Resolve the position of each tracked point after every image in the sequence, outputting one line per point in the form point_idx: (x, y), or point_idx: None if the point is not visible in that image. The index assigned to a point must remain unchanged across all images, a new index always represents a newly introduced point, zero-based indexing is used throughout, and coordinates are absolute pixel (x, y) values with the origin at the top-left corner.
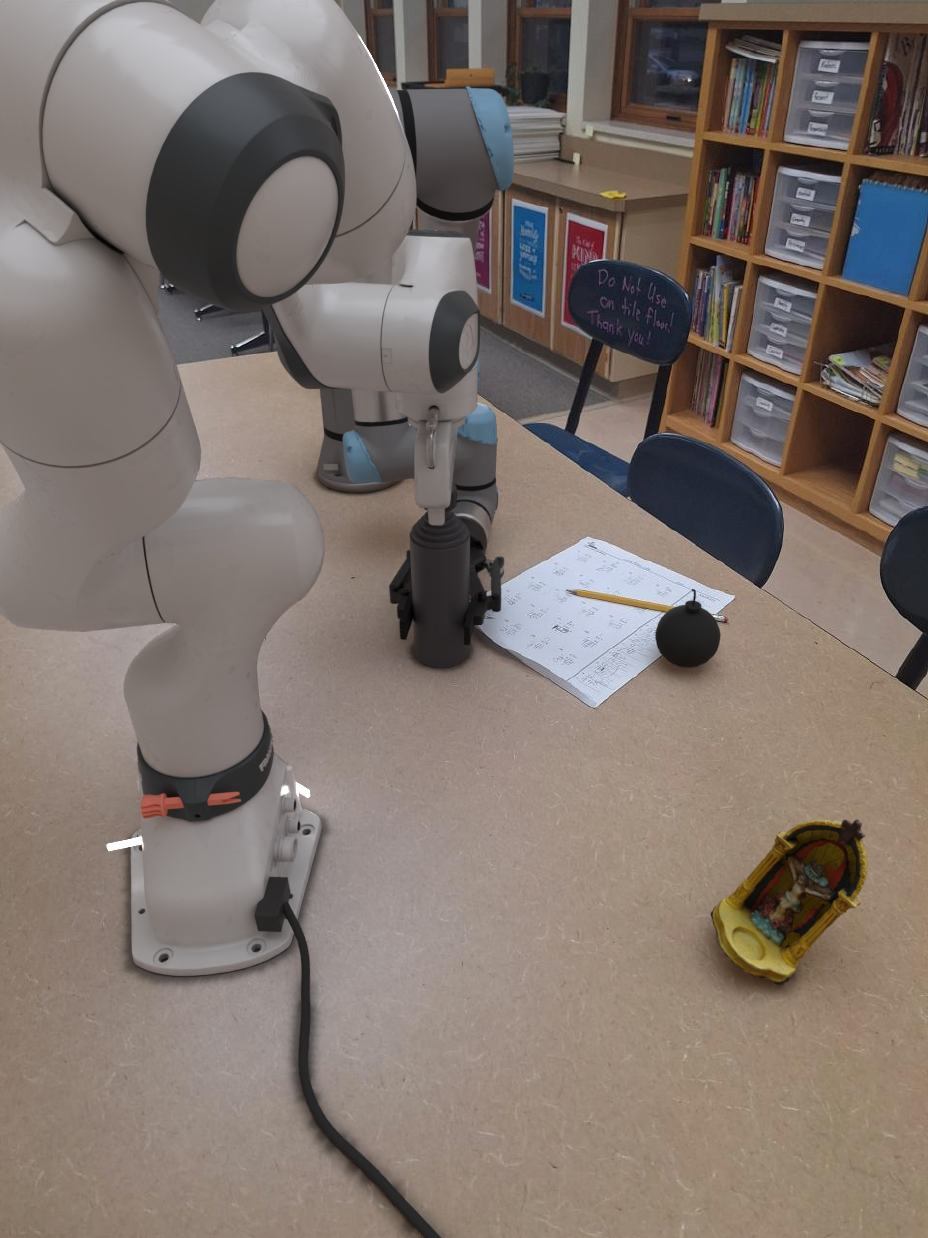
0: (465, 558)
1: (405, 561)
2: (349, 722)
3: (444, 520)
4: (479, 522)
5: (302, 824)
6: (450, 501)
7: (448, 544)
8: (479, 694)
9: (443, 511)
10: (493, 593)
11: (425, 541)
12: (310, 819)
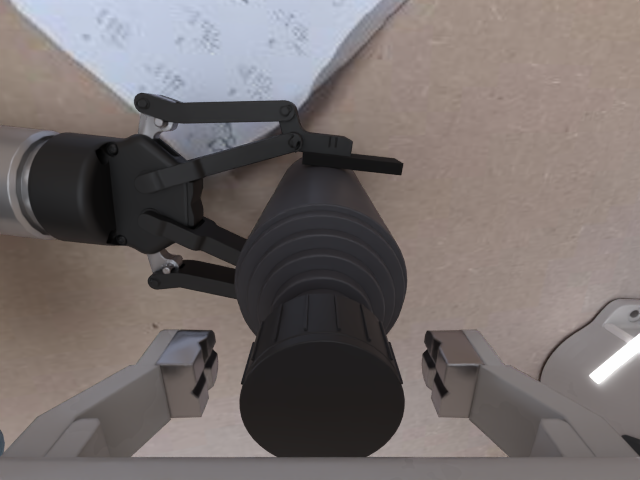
0: (359, 201)
1: (190, 288)
2: (458, 293)
3: (482, 336)
4: (19, 155)
5: (627, 320)
6: (376, 336)
7: (399, 266)
8: (419, 135)
9: (512, 369)
10: (283, 117)
11: (388, 327)
12: (622, 313)
